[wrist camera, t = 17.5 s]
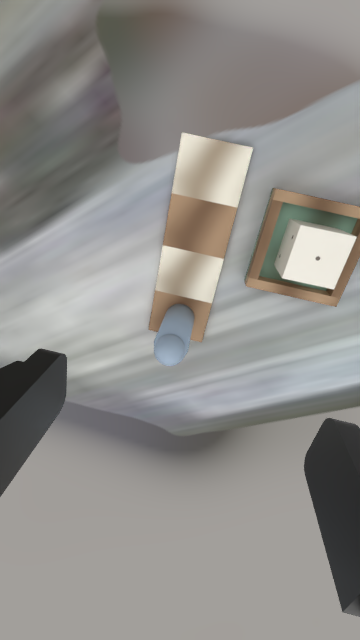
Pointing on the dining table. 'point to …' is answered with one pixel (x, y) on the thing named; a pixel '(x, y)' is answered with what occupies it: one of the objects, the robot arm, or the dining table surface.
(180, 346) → the pale blue capsule
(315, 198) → the tray
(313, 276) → the die
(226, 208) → the board
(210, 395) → the dining table surface
